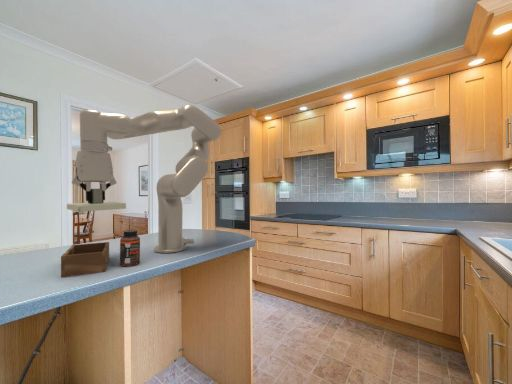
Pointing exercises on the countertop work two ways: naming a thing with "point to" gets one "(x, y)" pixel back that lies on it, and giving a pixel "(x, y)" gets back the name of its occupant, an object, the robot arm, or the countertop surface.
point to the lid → (96, 204)
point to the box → (85, 259)
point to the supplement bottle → (130, 248)
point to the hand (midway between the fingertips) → (95, 202)
